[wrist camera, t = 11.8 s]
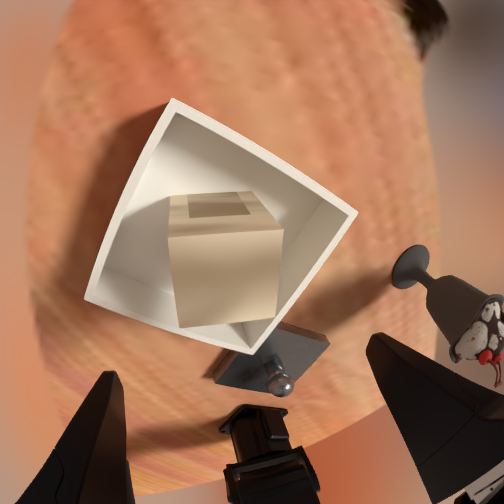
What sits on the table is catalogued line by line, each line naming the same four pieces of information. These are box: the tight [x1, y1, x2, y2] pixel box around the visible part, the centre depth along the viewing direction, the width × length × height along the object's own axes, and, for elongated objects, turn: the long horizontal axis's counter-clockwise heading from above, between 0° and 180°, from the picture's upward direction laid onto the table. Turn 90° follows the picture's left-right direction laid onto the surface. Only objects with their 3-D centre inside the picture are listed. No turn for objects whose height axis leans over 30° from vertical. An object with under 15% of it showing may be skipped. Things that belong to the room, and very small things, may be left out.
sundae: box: [393, 245, 504, 388], centre depth 19 cm, size 7×7×15 cm
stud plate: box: [213, 322, 330, 397], centre depth 25 cm, size 8×8×5 cm
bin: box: [84, 98, 359, 355], centre depth 18 cm, size 12×12×4 cm
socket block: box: [168, 191, 284, 328], centre depth 16 cm, size 5×5×6 cm
